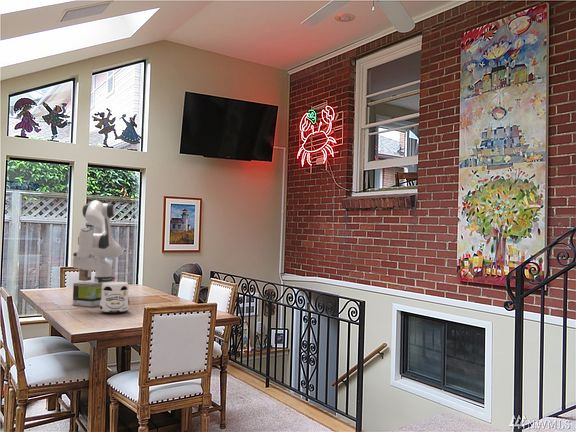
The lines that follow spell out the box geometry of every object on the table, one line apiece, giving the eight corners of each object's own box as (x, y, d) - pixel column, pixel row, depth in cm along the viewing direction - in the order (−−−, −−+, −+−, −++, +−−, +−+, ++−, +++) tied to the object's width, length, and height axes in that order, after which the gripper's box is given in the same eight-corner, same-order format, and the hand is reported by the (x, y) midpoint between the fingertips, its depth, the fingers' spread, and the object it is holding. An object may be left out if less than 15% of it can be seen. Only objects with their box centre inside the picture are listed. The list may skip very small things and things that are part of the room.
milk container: (111, 316, 290) (113, 285, 290) (93, 312, 300) (94, 283, 300) (135, 312, 305) (136, 283, 305) (116, 308, 314) (117, 280, 314)
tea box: (101, 305, 326) (102, 282, 326) (90, 307, 316) (91, 284, 316) (83, 303, 331) (83, 281, 331) (72, 305, 321) (72, 282, 321)
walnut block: (85, 279, 310) (86, 269, 310) (91, 280, 308) (91, 270, 308) (78, 280, 306) (79, 270, 306) (84, 280, 304) (84, 271, 304)
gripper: (101, 255, 304) (100, 277, 304) (79, 252, 315) (79, 274, 315) (92, 255, 299) (91, 278, 299) (71, 253, 309) (70, 275, 309)
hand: (85, 276), depth 307 cm, fingers closed on walnut block, 5 cm apart
